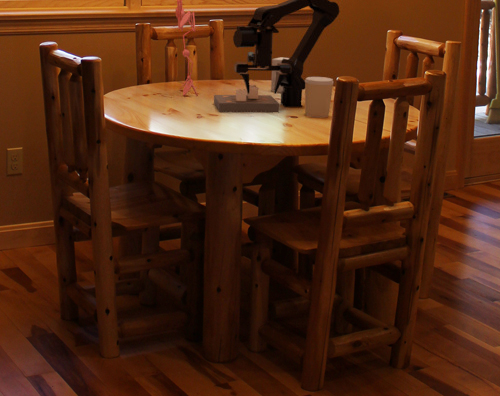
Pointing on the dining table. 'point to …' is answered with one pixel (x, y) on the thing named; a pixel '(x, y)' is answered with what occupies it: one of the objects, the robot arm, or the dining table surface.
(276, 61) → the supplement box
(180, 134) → the dining table surface
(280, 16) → the robot arm
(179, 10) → the figurine
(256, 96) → the slider
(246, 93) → the slider
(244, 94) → the slider
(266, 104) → the switch unit
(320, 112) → the coffee cup
